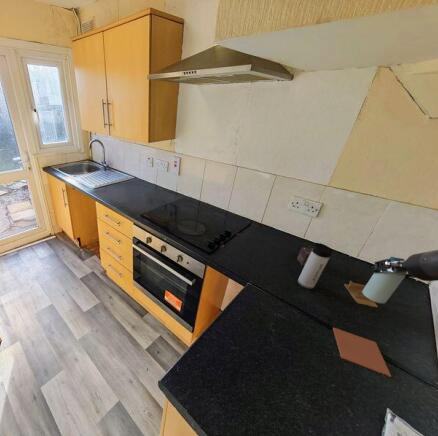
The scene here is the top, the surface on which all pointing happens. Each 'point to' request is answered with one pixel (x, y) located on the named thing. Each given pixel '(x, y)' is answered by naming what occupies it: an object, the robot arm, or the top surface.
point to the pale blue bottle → (383, 284)
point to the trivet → (360, 351)
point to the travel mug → (314, 265)
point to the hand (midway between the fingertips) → (385, 272)
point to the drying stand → (359, 294)
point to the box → (304, 255)
